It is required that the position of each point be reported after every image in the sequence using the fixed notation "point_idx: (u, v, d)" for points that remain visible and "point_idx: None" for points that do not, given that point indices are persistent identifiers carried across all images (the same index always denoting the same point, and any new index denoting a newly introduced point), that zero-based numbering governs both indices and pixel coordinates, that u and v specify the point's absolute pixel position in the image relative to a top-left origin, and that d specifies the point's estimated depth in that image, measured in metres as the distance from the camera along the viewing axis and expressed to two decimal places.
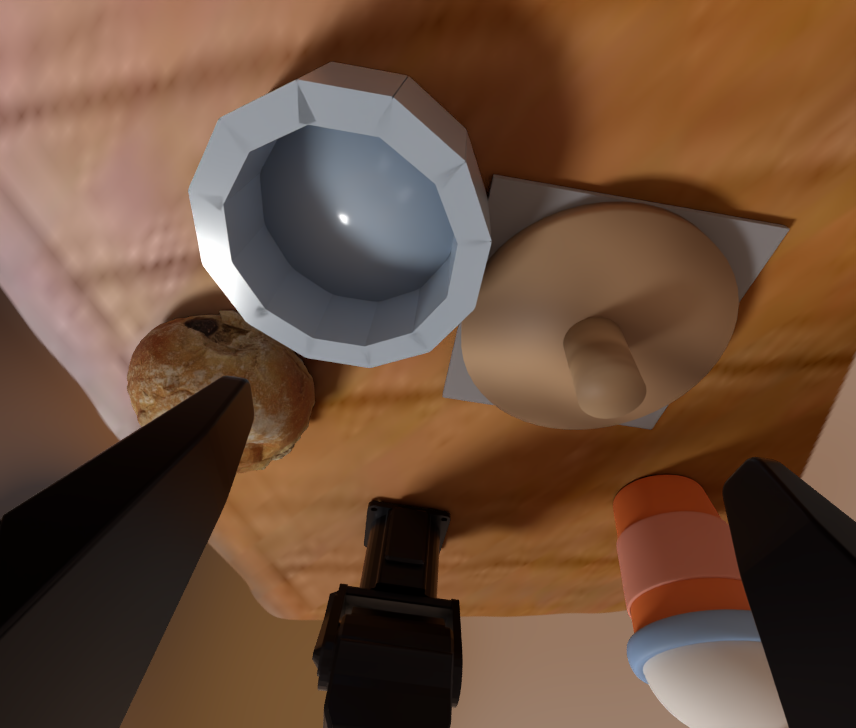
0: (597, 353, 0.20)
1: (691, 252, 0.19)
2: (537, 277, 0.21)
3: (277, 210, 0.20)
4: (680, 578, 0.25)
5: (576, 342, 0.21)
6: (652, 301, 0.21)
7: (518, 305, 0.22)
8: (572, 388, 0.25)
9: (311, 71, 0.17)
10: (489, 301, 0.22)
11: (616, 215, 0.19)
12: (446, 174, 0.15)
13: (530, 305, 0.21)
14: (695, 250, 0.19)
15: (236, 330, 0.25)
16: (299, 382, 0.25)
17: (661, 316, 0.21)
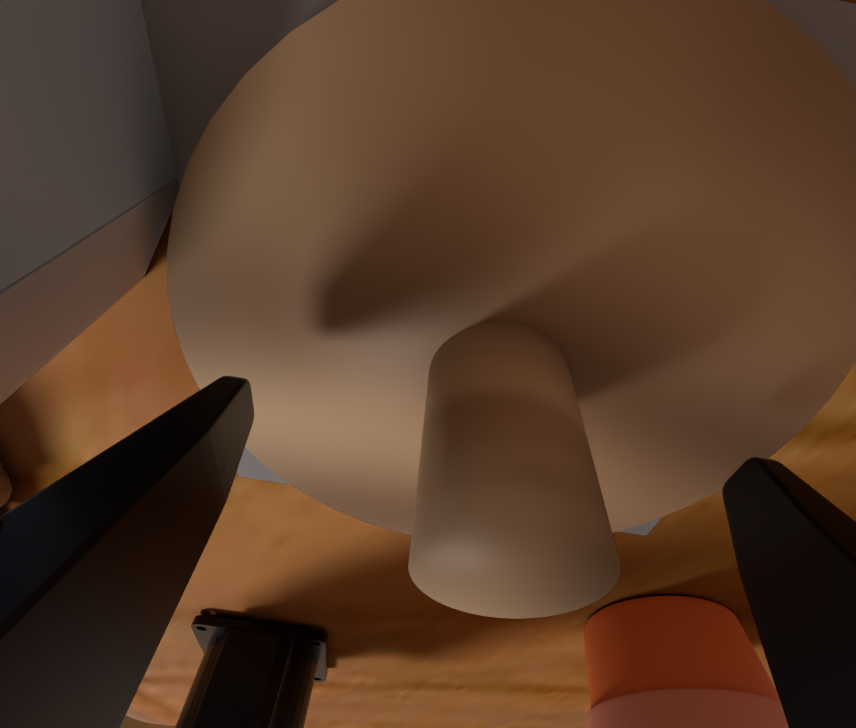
0: (471, 436, 0.06)
1: (768, 115, 0.06)
2: (316, 210, 0.07)
3: None
4: None
5: (437, 391, 0.08)
6: (643, 280, 0.08)
7: (292, 290, 0.08)
8: None
9: None
10: (216, 281, 0.08)
11: None
12: None
13: (323, 291, 0.08)
14: (781, 108, 0.06)
15: None
16: None
17: (668, 321, 0.08)
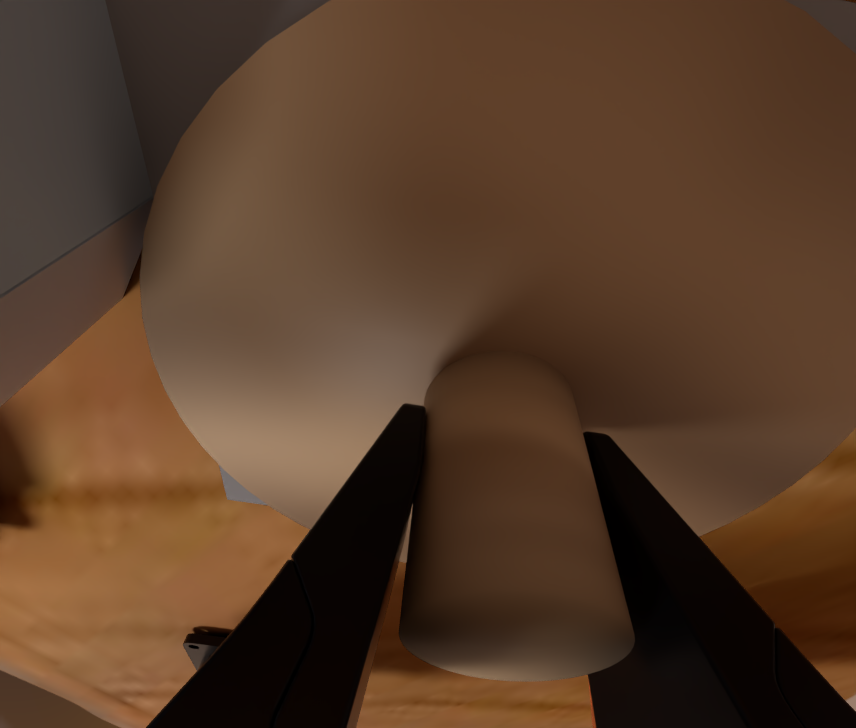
0: (469, 487, 0.06)
1: (797, 134, 0.05)
2: (299, 234, 0.07)
3: None
4: None
5: (432, 428, 0.07)
6: (655, 308, 0.07)
7: (275, 317, 0.08)
8: None
9: None
10: (194, 307, 0.08)
11: None
12: None
13: (310, 318, 0.08)
14: (812, 126, 0.05)
15: None
16: None
17: (681, 351, 0.07)
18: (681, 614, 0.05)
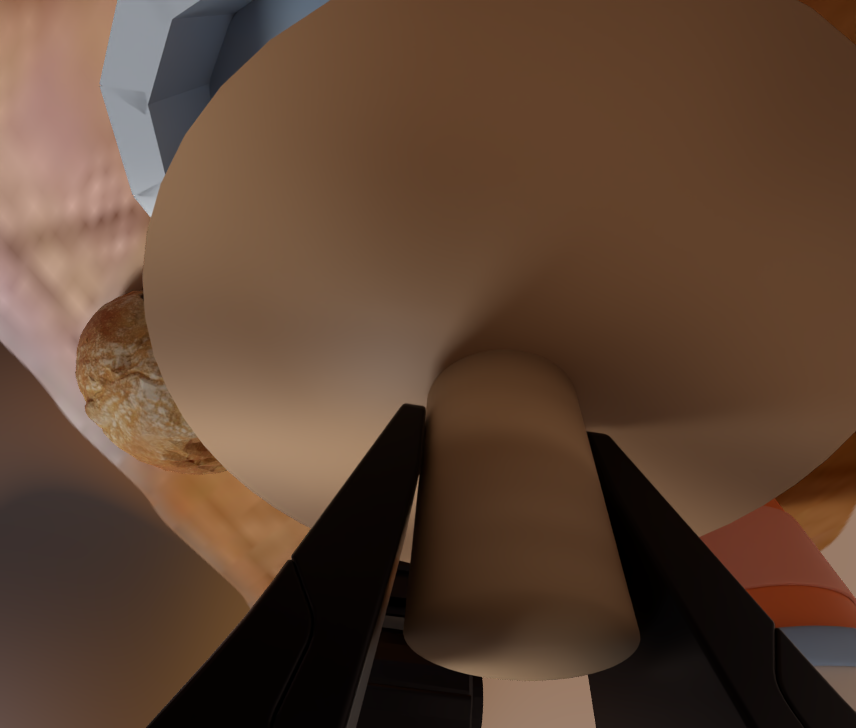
0: (473, 487, 0.06)
1: (803, 132, 0.05)
2: (302, 232, 0.07)
3: None
4: (746, 586, 0.21)
5: (435, 427, 0.07)
6: (659, 307, 0.07)
7: (278, 316, 0.08)
8: None
9: None
10: (196, 306, 0.08)
11: None
12: None
13: (312, 317, 0.08)
14: (817, 124, 0.05)
15: None
16: None
17: (685, 349, 0.07)
18: (681, 614, 0.05)
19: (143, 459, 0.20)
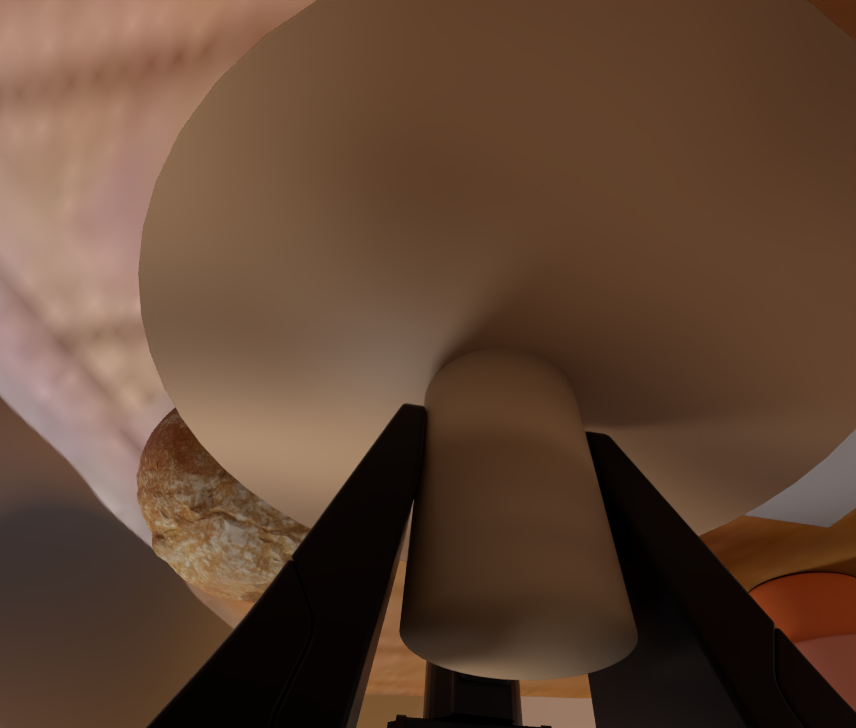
0: (470, 484, 0.06)
1: (801, 128, 0.05)
2: (299, 229, 0.07)
3: None
4: None
5: (433, 425, 0.07)
6: (657, 305, 0.07)
7: (275, 314, 0.08)
8: None
9: None
10: (193, 304, 0.08)
11: None
12: None
13: (309, 315, 0.08)
14: (817, 120, 0.05)
15: None
16: None
17: (684, 347, 0.07)
18: (681, 614, 0.05)
19: (214, 595, 0.18)
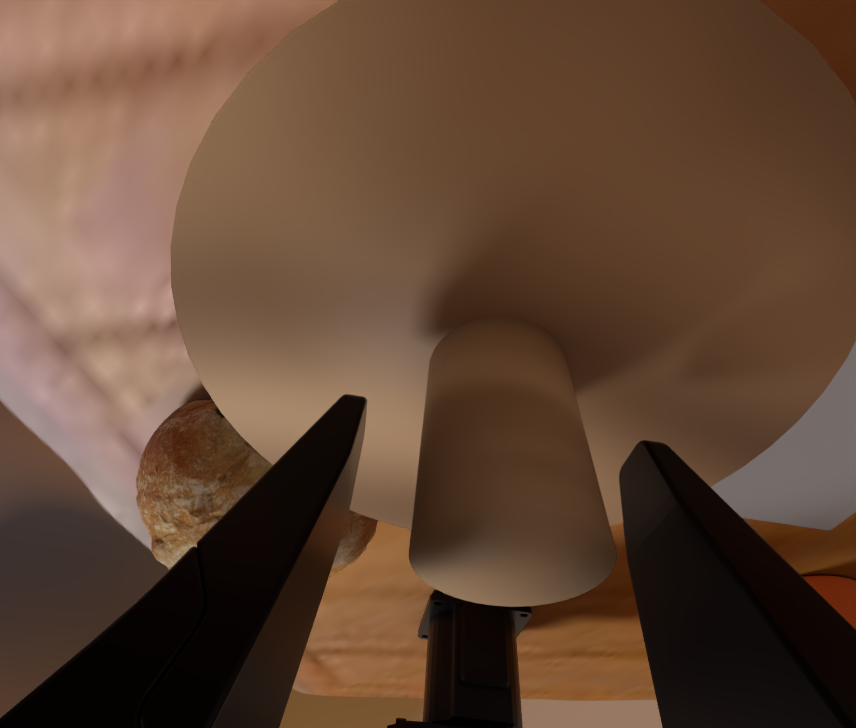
0: (471, 427, 0.06)
1: (760, 112, 0.06)
2: (317, 206, 0.07)
3: None
4: None
5: (437, 384, 0.08)
6: (640, 275, 0.08)
7: (293, 286, 0.08)
8: None
9: None
10: (219, 276, 0.08)
11: None
12: None
13: (325, 286, 0.08)
14: (774, 105, 0.06)
15: None
16: None
17: (664, 315, 0.08)
18: (769, 626, 0.05)
19: None
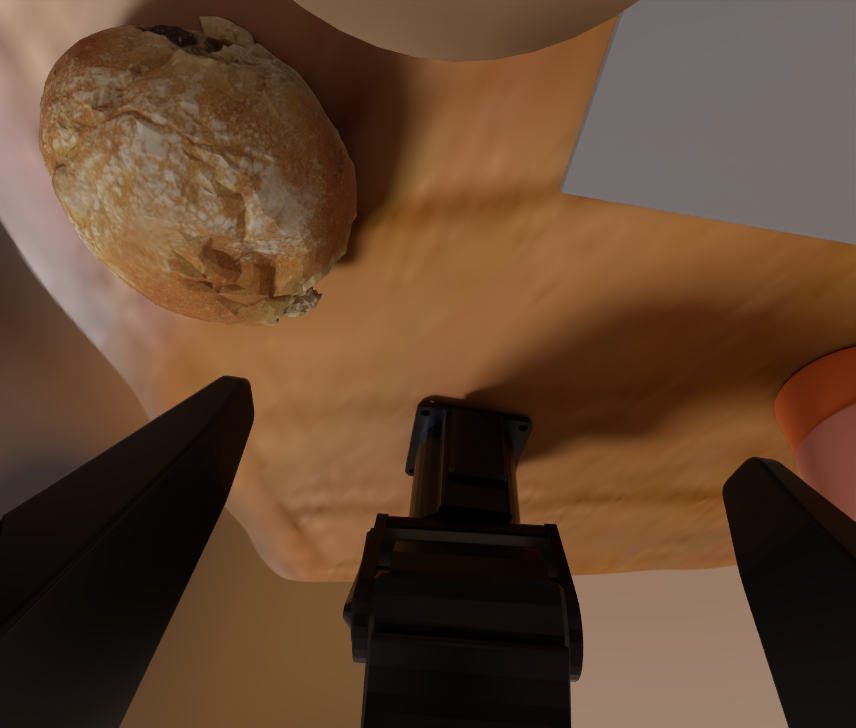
0: None
1: None
2: None
3: None
4: None
5: None
6: None
7: None
8: None
9: None
10: None
11: None
12: None
13: None
14: None
15: None
16: (337, 152, 0.15)
17: None
18: None
19: (139, 274, 0.14)
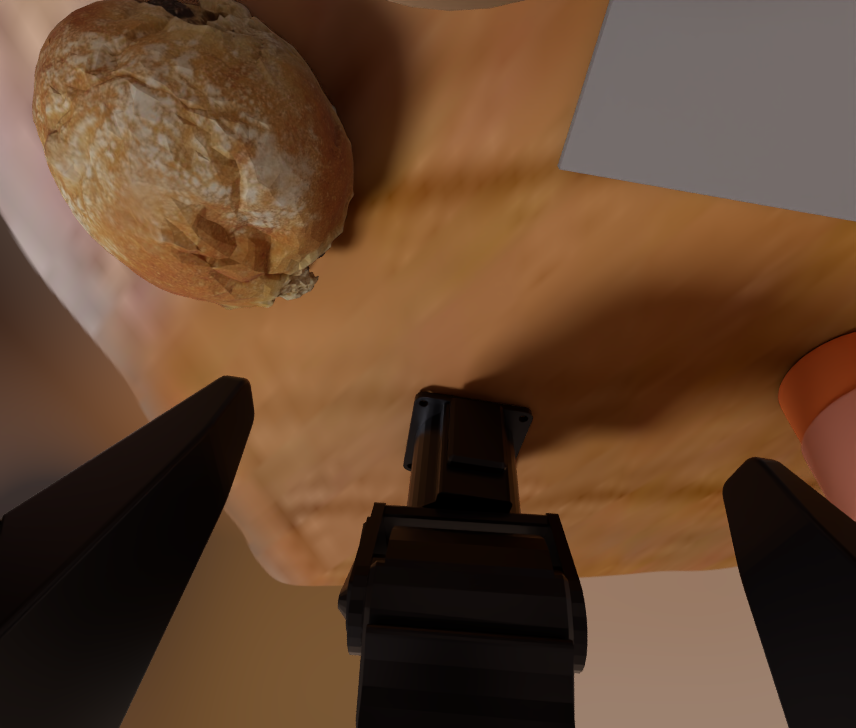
0: None
1: None
2: None
3: None
4: None
5: None
6: None
7: None
8: None
9: None
10: None
11: None
12: None
13: None
14: None
15: None
16: (333, 127, 0.15)
17: None
18: None
19: (131, 246, 0.14)
